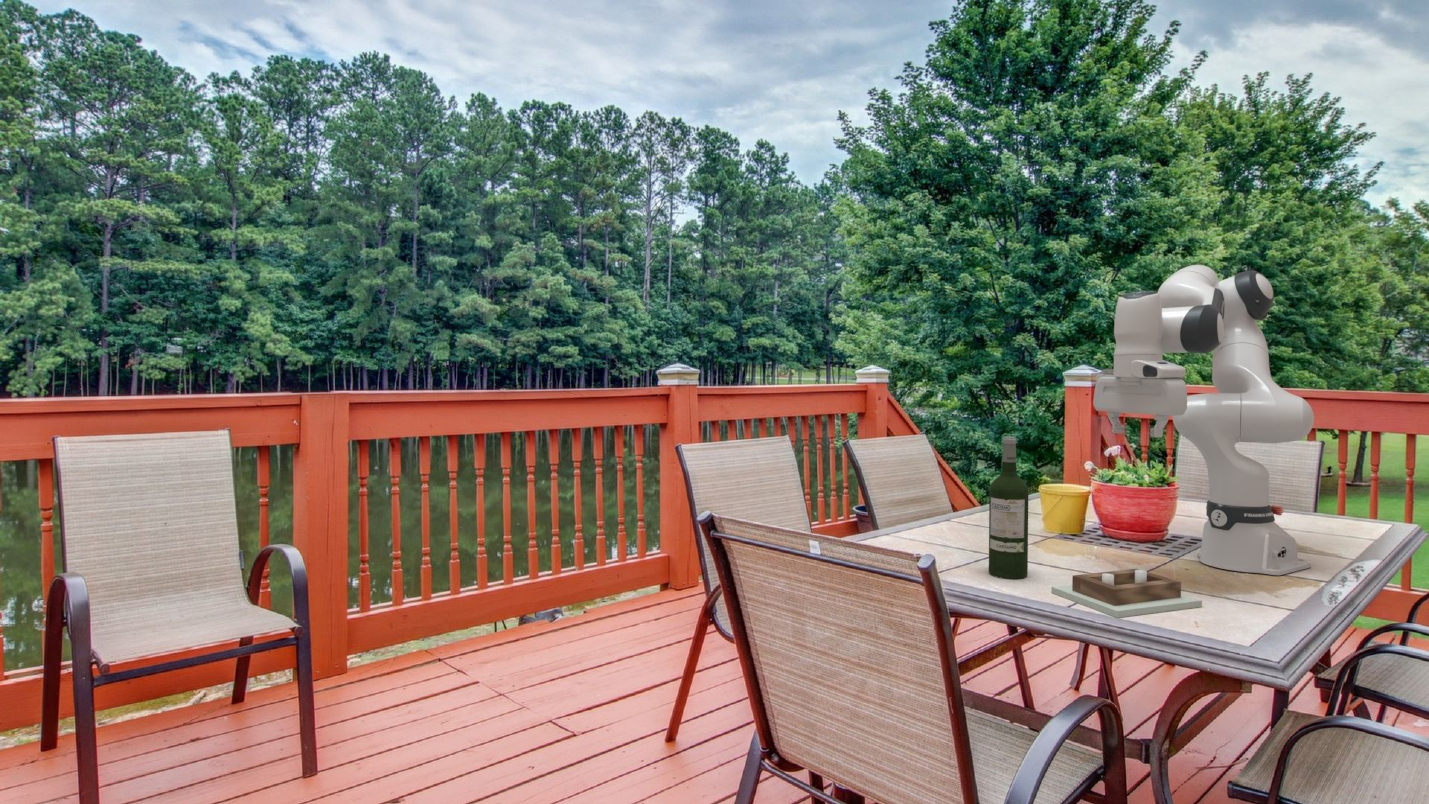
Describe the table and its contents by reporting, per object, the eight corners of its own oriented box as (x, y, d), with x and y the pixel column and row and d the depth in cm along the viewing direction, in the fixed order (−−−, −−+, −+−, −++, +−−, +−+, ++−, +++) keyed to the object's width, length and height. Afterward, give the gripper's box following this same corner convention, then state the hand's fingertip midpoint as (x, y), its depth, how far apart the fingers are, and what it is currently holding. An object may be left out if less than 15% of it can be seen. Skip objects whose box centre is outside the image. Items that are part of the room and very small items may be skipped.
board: (1130, 583, 153) (1130, 558, 153) (1201, 606, 138) (1202, 579, 138) (1051, 592, 147) (1051, 566, 147) (1117, 617, 132) (1117, 589, 132)
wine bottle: (990, 577, 158) (991, 438, 157) (987, 568, 166) (988, 435, 165) (1030, 580, 156) (1031, 438, 155) (1025, 570, 164) (1026, 435, 163)
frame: (1136, 583, 149) (1136, 568, 149) (1180, 597, 140) (1181, 581, 140) (1072, 590, 145) (1072, 575, 144) (1114, 605, 135) (1114, 589, 135)
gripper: (1086, 369, 163) (1085, 431, 164) (1168, 369, 144) (1167, 440, 144) (1109, 368, 165) (1108, 430, 166) (1193, 368, 145) (1192, 438, 146)
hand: (1136, 435), depth 155 cm, fingers open, 8 cm apart
